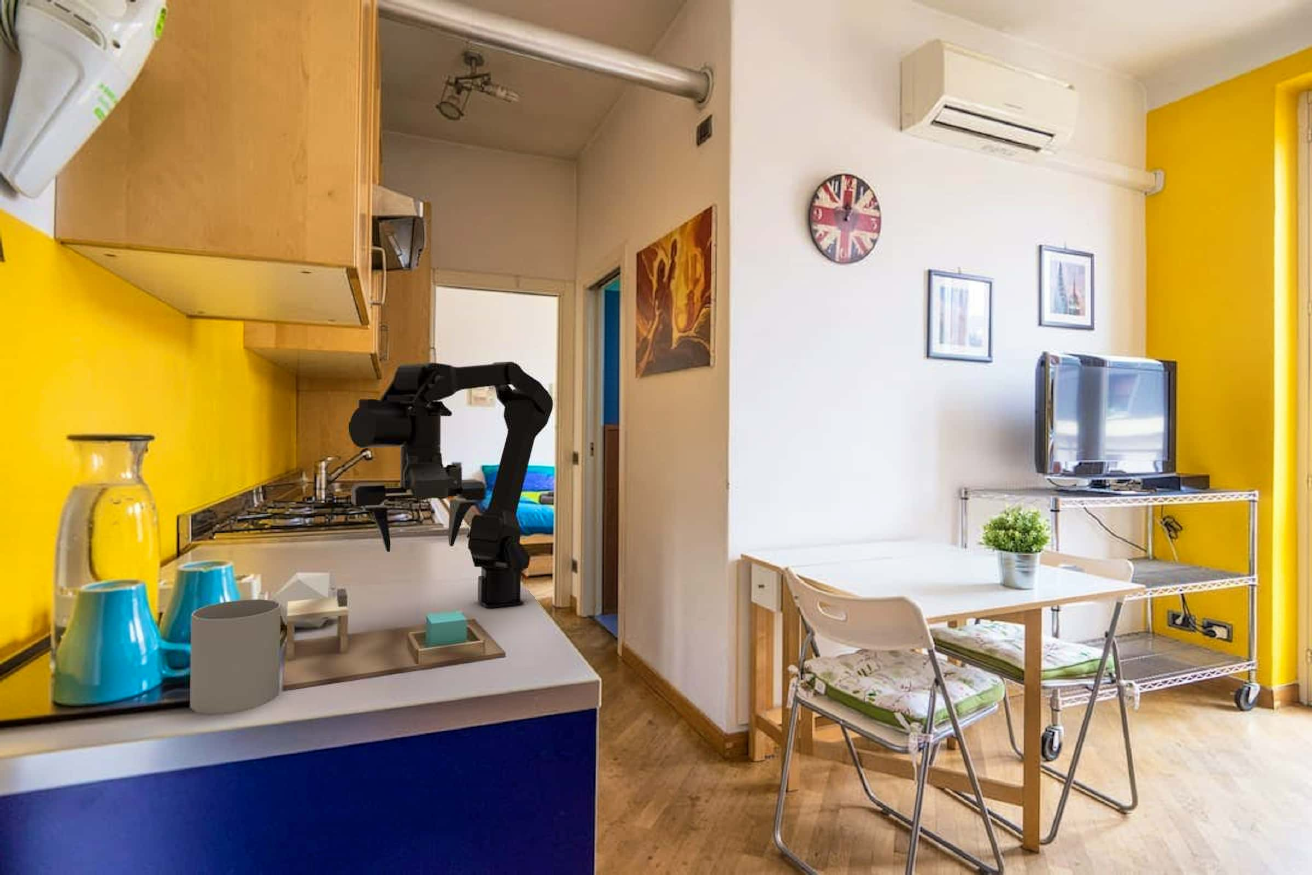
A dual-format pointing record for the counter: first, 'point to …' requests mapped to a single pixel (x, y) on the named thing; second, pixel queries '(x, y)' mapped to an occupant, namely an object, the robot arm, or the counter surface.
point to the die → (305, 594)
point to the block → (445, 629)
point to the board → (380, 655)
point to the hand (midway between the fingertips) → (420, 548)
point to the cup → (234, 655)
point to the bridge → (319, 610)
